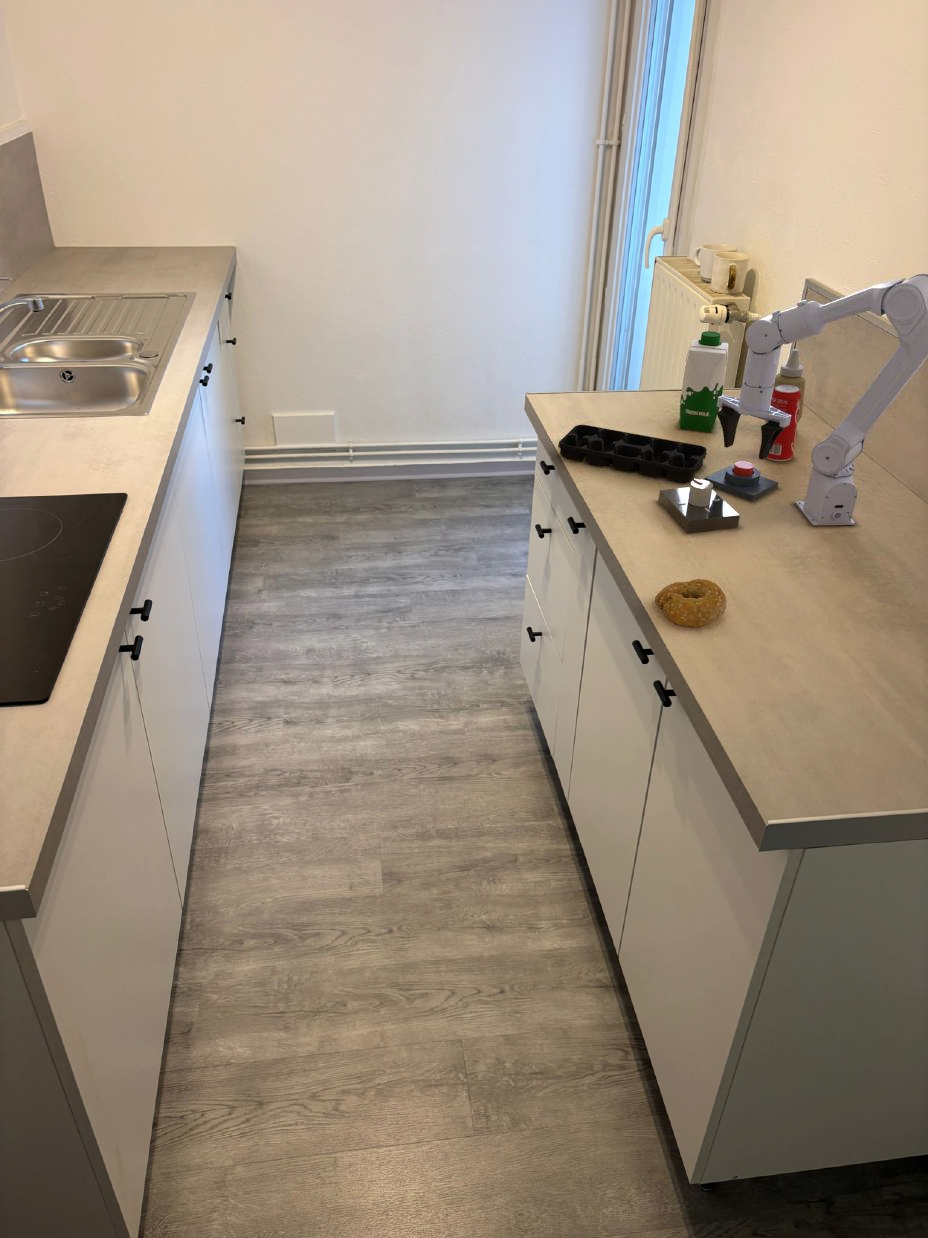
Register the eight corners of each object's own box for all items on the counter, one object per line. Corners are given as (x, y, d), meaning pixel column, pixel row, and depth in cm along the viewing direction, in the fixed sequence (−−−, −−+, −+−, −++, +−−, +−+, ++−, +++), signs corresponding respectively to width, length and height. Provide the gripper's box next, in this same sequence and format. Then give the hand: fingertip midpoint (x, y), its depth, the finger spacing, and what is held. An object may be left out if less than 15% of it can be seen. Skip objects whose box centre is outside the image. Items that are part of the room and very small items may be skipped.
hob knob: (714, 503, 177) (717, 484, 175) (699, 508, 175) (702, 489, 173) (698, 495, 180) (702, 476, 178) (683, 500, 178) (686, 481, 176)
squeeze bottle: (753, 425, 217) (768, 346, 207) (781, 420, 220) (797, 342, 210) (777, 438, 211) (793, 357, 201) (806, 433, 214) (823, 352, 204)
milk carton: (718, 420, 219) (732, 332, 208) (715, 435, 212) (729, 344, 201) (679, 416, 221) (691, 328, 210) (674, 430, 214) (687, 340, 203)
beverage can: (793, 463, 199) (808, 393, 191) (760, 461, 200) (774, 391, 192) (790, 452, 204) (805, 384, 196) (759, 450, 205) (772, 381, 197)
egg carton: (703, 487, 189) (705, 469, 187) (551, 470, 195) (553, 453, 193) (706, 453, 203) (708, 436, 201) (565, 438, 209) (566, 421, 207)
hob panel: (737, 528, 175) (740, 514, 173) (686, 533, 173) (689, 519, 171) (706, 497, 185) (708, 484, 184) (657, 502, 183) (659, 489, 182)
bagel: (672, 588, 157) (676, 562, 154) (735, 611, 151) (740, 585, 148) (641, 613, 150) (645, 586, 147) (705, 638, 144) (710, 611, 142)
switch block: (777, 488, 189) (780, 473, 187) (752, 502, 184) (755, 486, 182) (729, 471, 196) (731, 456, 194) (703, 483, 190) (706, 469, 189)
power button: (755, 473, 188) (757, 465, 187) (745, 478, 186) (747, 470, 185) (739, 467, 190) (741, 459, 189) (729, 472, 188) (731, 464, 187)
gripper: (712, 378, 180) (701, 446, 187) (782, 398, 171) (767, 468, 179) (733, 369, 184) (722, 436, 191) (802, 389, 175) (787, 458, 183)
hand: (745, 451), depth 185 cm, fingers open, 7 cm apart
